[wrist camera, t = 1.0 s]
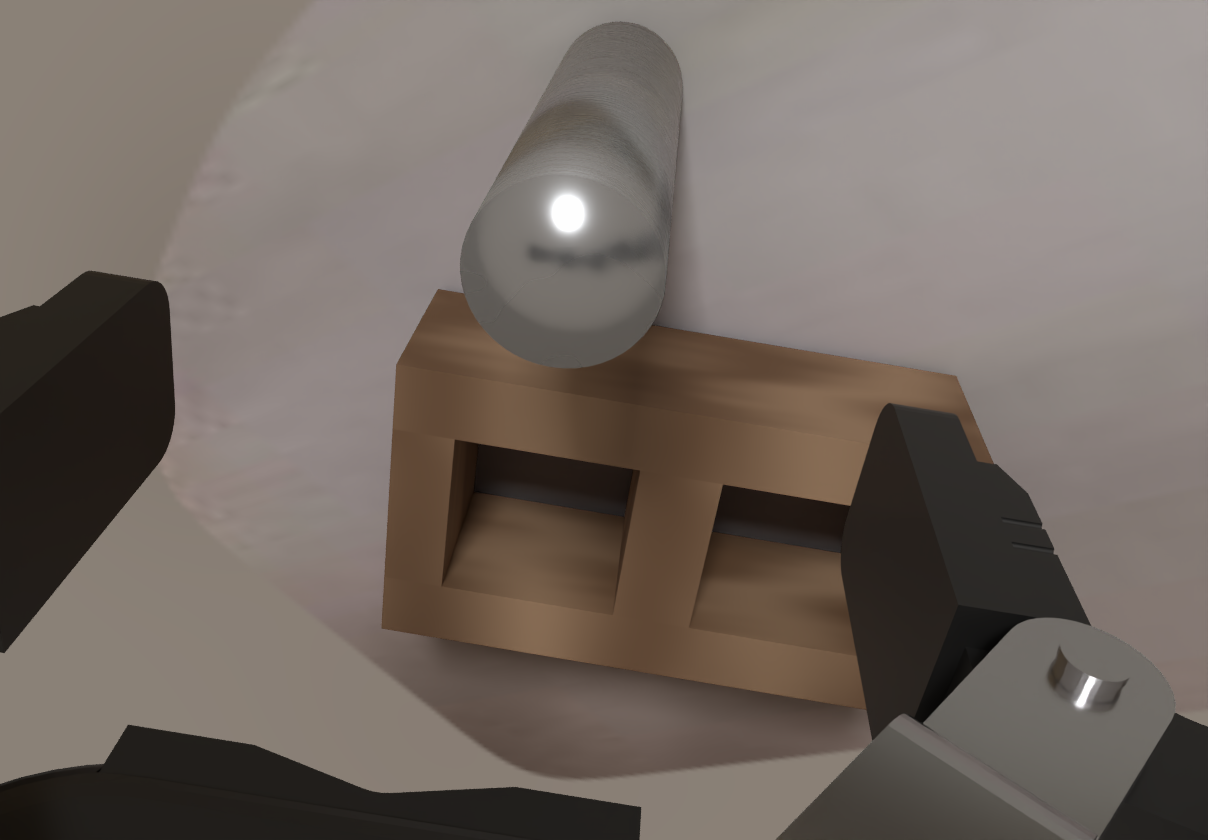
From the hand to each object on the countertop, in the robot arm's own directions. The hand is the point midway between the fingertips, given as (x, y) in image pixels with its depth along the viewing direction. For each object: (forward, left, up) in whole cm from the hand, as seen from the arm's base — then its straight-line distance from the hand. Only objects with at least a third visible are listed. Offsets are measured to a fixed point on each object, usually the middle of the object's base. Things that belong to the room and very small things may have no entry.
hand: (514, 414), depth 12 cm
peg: (0, 0, -16) cm, 16 cm away
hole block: (-3, +10, -16) cm, 19 cm away
